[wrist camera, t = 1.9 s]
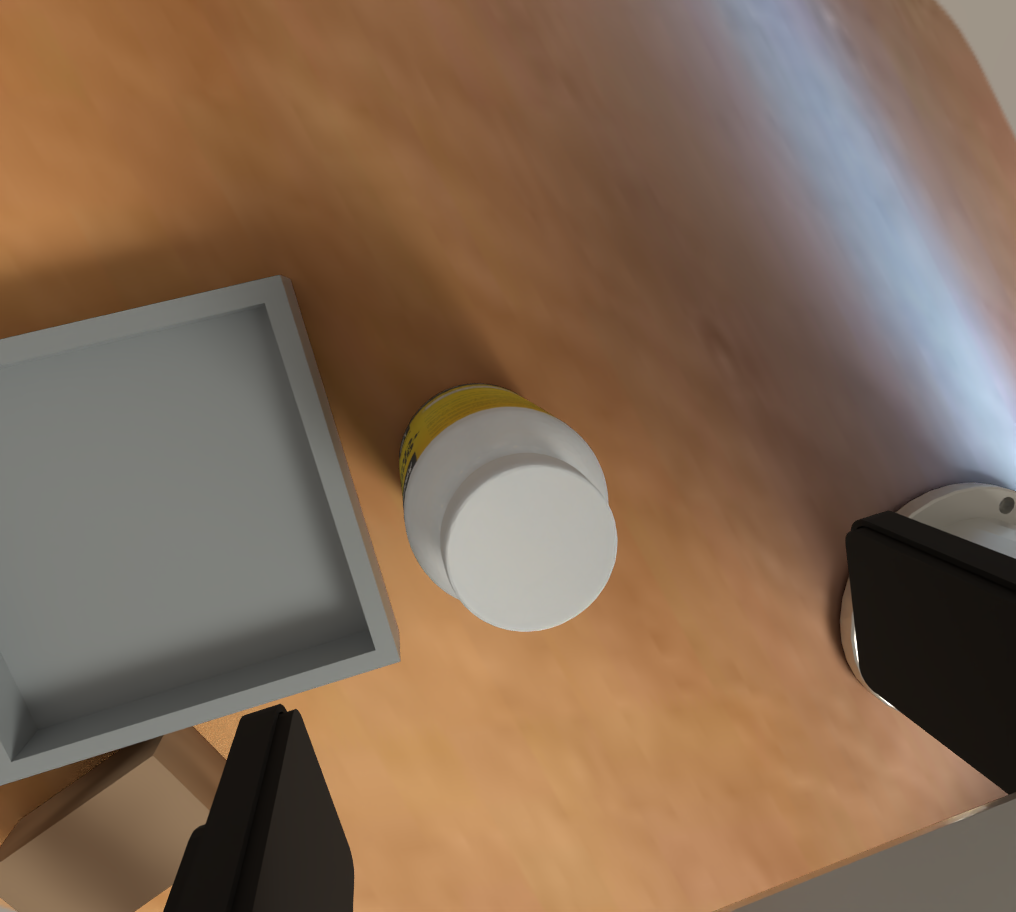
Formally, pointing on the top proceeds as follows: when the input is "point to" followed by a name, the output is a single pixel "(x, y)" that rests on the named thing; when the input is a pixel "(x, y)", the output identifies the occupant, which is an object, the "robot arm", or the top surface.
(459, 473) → the pill bottle
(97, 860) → the walnut block
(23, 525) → the tray
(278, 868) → the robot arm
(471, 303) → the top surface
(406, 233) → the top surface
